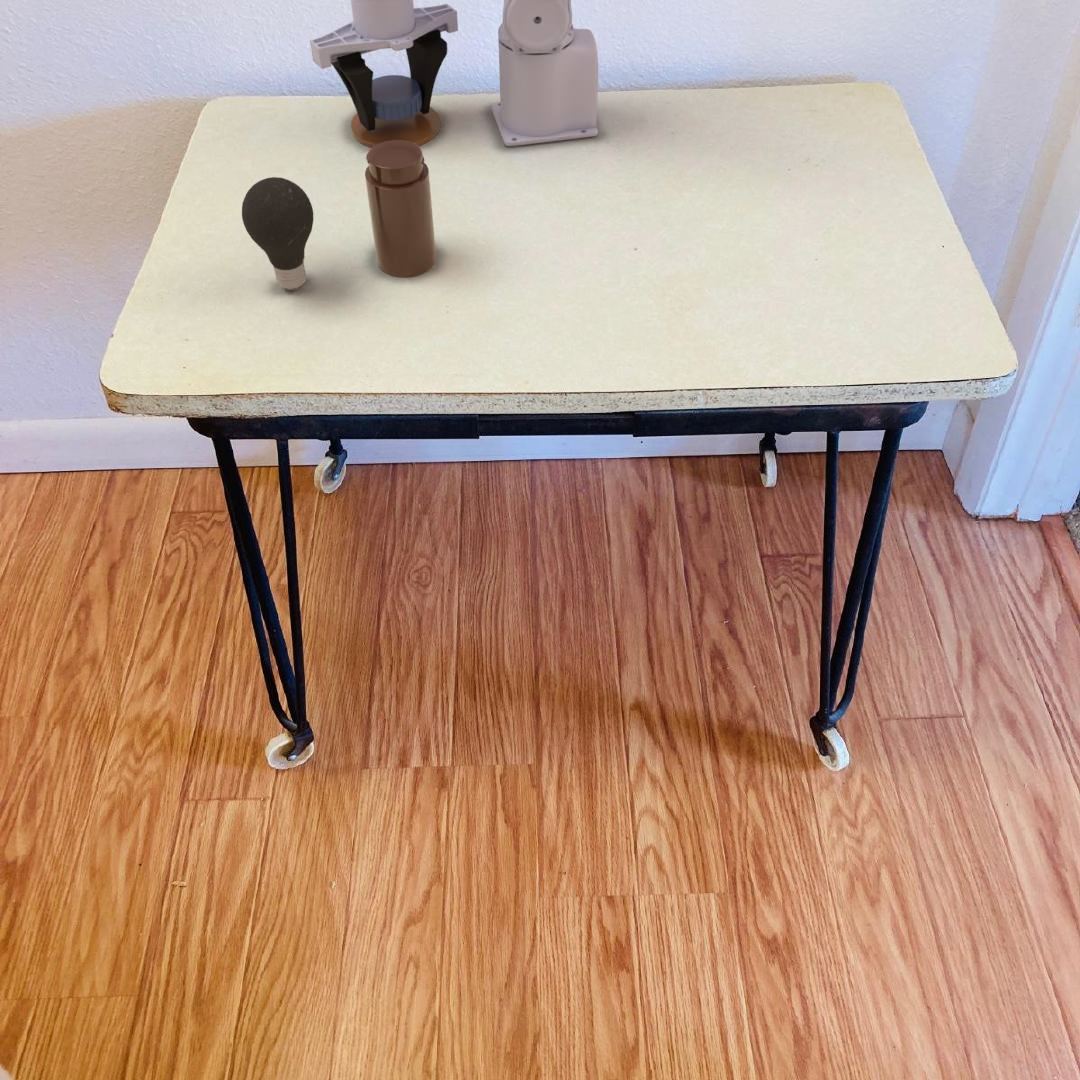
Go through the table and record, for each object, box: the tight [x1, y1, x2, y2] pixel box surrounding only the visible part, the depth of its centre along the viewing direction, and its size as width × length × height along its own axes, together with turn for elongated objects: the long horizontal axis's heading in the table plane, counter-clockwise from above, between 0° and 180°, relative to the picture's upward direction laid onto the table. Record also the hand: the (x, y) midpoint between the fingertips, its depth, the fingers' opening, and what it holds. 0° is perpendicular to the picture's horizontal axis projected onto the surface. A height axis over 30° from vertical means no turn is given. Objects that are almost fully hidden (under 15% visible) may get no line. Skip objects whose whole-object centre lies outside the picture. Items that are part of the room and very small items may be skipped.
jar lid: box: [372, 74, 422, 121], centre depth 108 cm, size 6×6×2 cm
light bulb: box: [241, 176, 314, 291], centre depth 89 cm, size 6×6×10 cm
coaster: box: [350, 106, 442, 148], centre depth 110 cm, size 9×9×1 cm
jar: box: [364, 140, 437, 278], centre depth 91 cm, size 5×5×10 cm
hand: (394, 117), depth 109 cm, fingers closed on jar lid, 5 cm apart
